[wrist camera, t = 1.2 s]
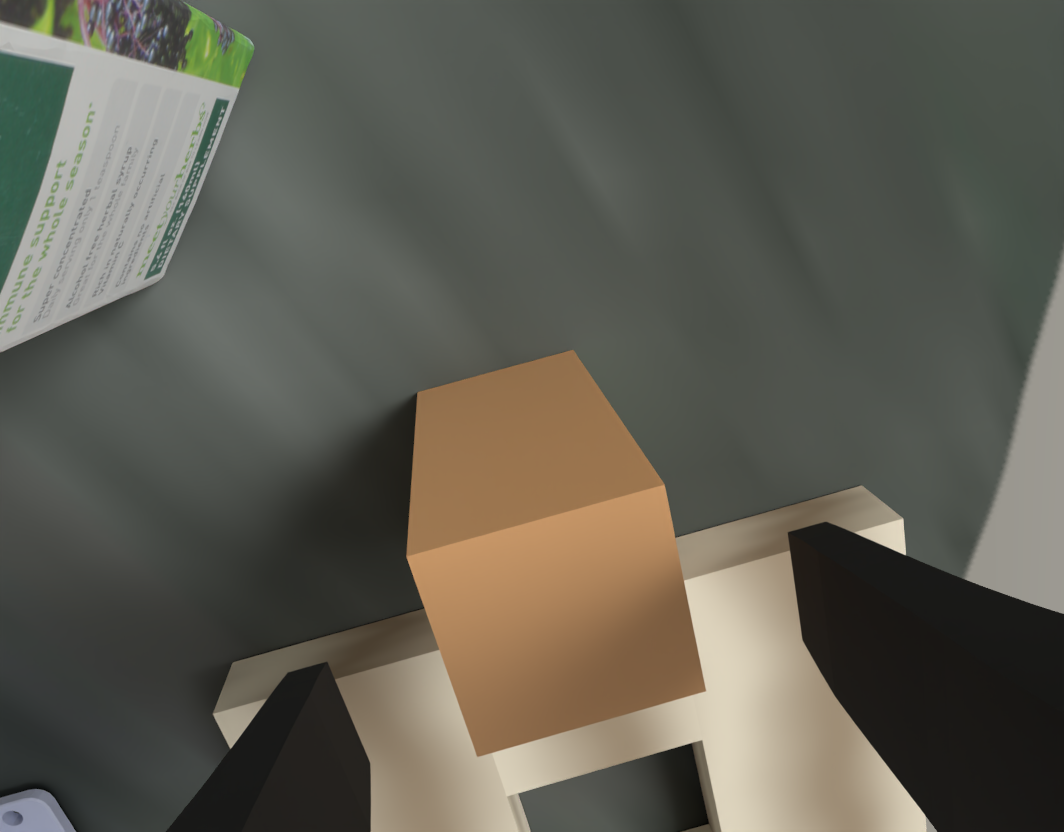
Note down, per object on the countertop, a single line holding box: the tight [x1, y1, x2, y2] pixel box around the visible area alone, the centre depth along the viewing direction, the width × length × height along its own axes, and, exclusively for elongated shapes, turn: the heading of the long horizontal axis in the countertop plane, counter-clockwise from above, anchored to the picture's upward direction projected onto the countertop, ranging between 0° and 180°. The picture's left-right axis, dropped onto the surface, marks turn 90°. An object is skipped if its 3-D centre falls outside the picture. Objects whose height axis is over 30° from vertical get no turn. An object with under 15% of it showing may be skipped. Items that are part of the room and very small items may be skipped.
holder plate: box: [213, 486, 927, 832], centre depth 23 cm, size 18×16×2 cm
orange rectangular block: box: [406, 350, 706, 757], centre depth 16 cm, size 4×4×8 cm
